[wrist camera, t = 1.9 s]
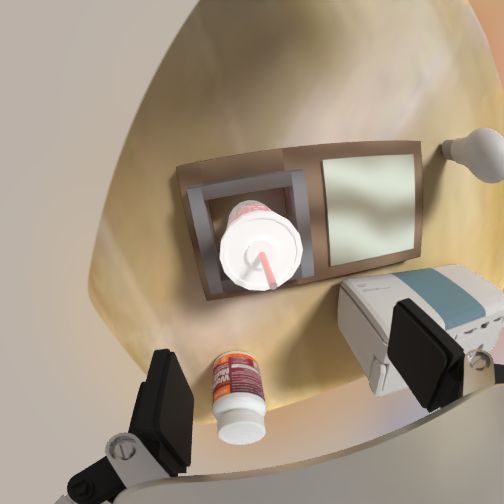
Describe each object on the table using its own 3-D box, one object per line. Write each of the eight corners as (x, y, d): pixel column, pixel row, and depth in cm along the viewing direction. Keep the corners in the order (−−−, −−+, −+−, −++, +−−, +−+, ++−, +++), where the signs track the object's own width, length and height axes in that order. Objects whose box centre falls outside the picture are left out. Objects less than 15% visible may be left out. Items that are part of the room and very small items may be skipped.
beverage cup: (208, 226, 28) (196, 294, 15) (247, 180, 27) (268, 209, 14) (253, 261, 30) (275, 344, 17) (292, 218, 29) (345, 276, 16)
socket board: (179, 165, 26) (170, 168, 22) (410, 140, 27) (434, 142, 23) (207, 291, 31) (205, 313, 27) (411, 251, 32) (431, 264, 28)
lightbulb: (430, 173, 28) (494, 190, 18) (425, 125, 26) (492, 127, 16) (459, 171, 28) (520, 186, 18) (456, 126, 26) (518, 131, 16)
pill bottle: (219, 344, 34) (220, 415, 23) (264, 353, 35) (279, 422, 24) (208, 376, 36) (207, 443, 25) (250, 383, 37) (259, 448, 26)
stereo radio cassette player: (456, 257, 33) (551, 324, 15) (444, 304, 36) (522, 379, 18) (335, 271, 32) (433, 397, 13) (329, 328, 35) (395, 455, 16)
